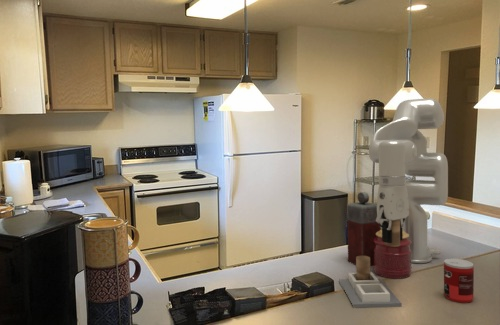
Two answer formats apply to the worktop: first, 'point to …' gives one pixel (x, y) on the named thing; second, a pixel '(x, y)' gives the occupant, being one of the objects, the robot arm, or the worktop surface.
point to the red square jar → (362, 228)
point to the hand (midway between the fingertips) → (392, 240)
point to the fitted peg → (362, 268)
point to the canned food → (458, 280)
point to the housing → (368, 292)
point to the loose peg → (394, 233)
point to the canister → (392, 257)
